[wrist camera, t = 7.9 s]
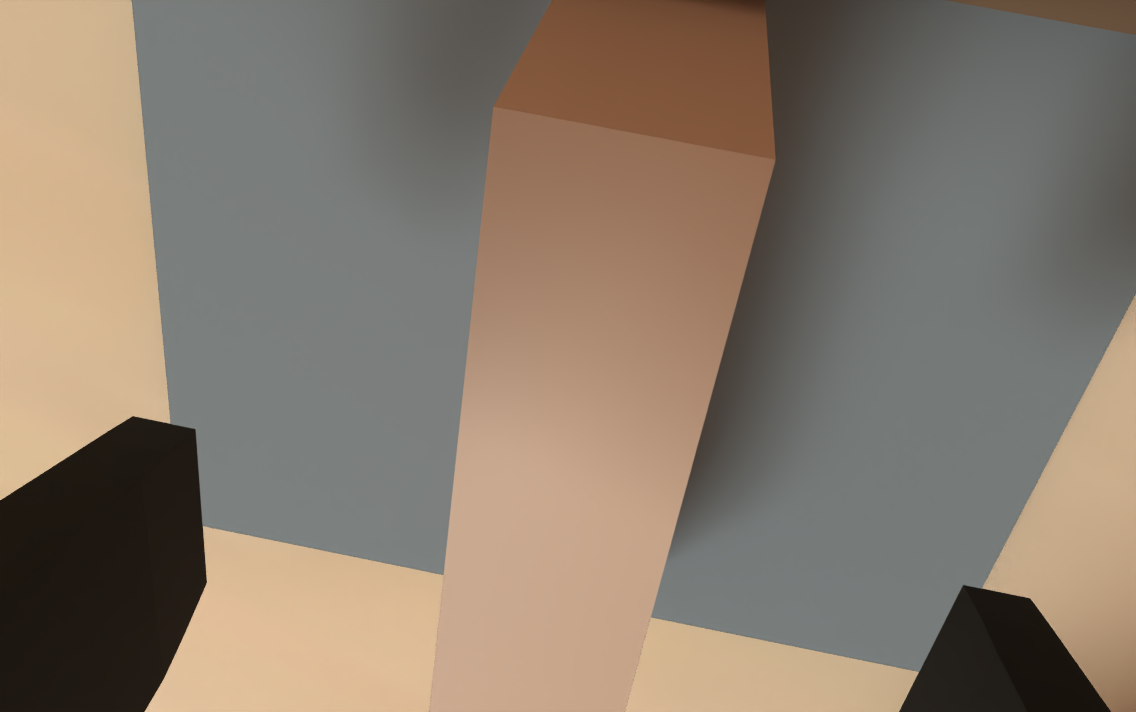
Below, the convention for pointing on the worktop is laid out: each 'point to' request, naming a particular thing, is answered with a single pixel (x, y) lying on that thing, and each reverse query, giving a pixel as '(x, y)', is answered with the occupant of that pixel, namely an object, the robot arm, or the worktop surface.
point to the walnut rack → (1071, 11)
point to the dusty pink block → (596, 339)
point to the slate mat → (760, 321)
